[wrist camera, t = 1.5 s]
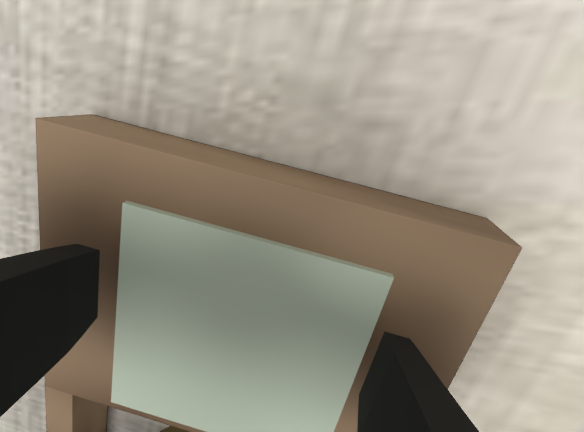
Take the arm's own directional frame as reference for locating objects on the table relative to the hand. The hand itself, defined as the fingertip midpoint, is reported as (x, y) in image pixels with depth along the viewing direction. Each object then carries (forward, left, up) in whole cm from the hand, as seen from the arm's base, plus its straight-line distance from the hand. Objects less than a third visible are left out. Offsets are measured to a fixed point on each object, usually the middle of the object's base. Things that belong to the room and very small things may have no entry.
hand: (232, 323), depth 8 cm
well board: (-6, 0, -3) cm, 7 cm away
